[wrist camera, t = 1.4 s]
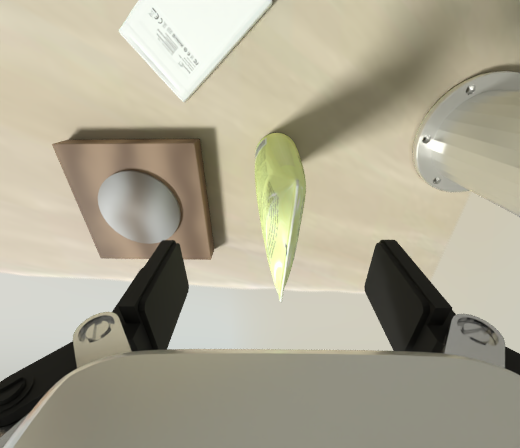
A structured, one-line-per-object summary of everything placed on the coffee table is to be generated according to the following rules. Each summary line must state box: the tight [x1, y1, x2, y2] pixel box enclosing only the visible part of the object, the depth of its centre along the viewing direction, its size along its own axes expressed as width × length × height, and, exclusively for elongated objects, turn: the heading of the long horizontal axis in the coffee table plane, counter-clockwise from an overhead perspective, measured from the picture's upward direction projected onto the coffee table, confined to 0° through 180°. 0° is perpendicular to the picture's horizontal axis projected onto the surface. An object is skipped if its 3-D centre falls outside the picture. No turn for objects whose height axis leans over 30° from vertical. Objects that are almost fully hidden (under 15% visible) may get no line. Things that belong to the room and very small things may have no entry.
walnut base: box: [52, 139, 214, 260], centre depth 32 cm, size 16×16×3 cm
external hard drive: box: [119, 0, 272, 102], centre depth 23 cm, size 2×8×12 cm
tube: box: [255, 133, 306, 302], centre depth 21 cm, size 6×5×20 cm
